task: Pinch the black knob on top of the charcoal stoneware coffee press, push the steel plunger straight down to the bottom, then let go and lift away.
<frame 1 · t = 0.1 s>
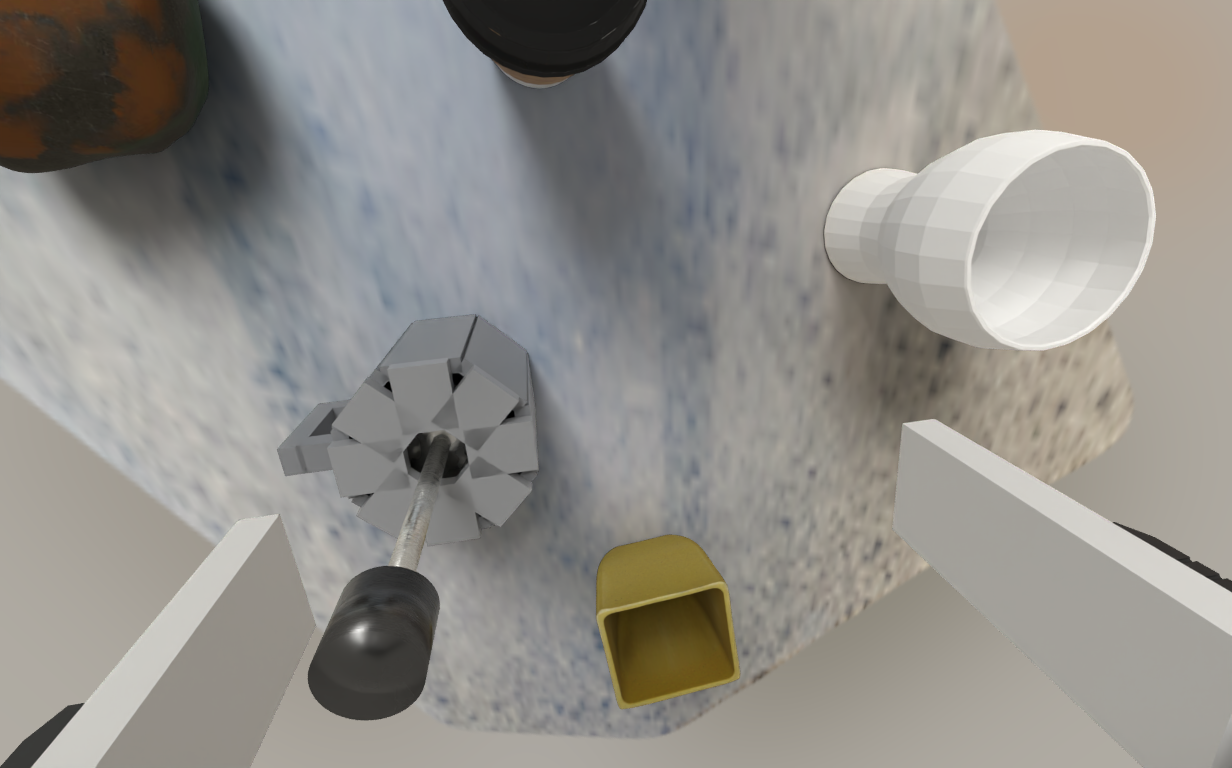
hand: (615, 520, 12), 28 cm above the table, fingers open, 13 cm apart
cup: (874, 226, 41), on the table
plunger: (417, 519, 24), point 16 cm above the table, slide at 0.0 cm
flower pot: (645, 564, 47), on the table
rock: (128, 56, 31), on the table
press carafe: (458, 388, 40), on the table
coffee cup: (536, 33, 34), on the table
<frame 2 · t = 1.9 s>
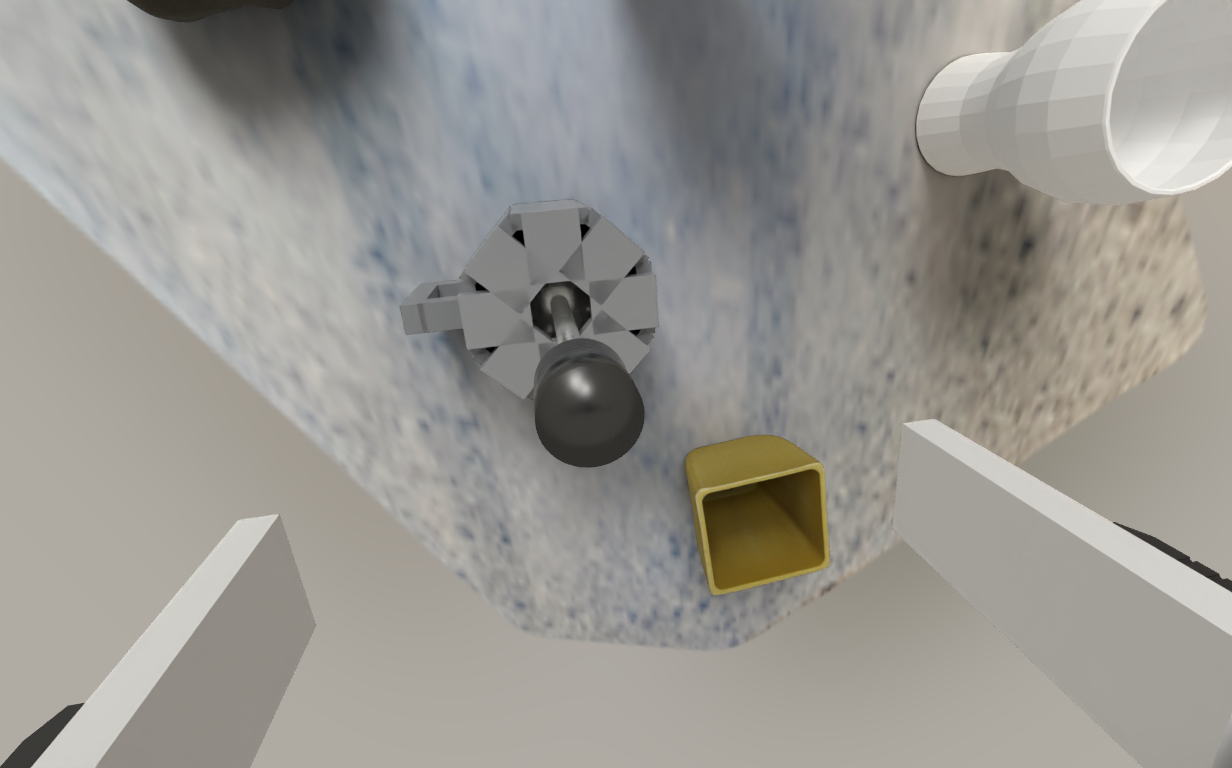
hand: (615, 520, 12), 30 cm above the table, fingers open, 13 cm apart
cup: (964, 117, 41), on the table
plunger: (569, 341, 25), point 17 cm above the table, slide at 0.0 cm
flower pot: (722, 468, 47), on the table
press carafe: (551, 277, 40), on the table
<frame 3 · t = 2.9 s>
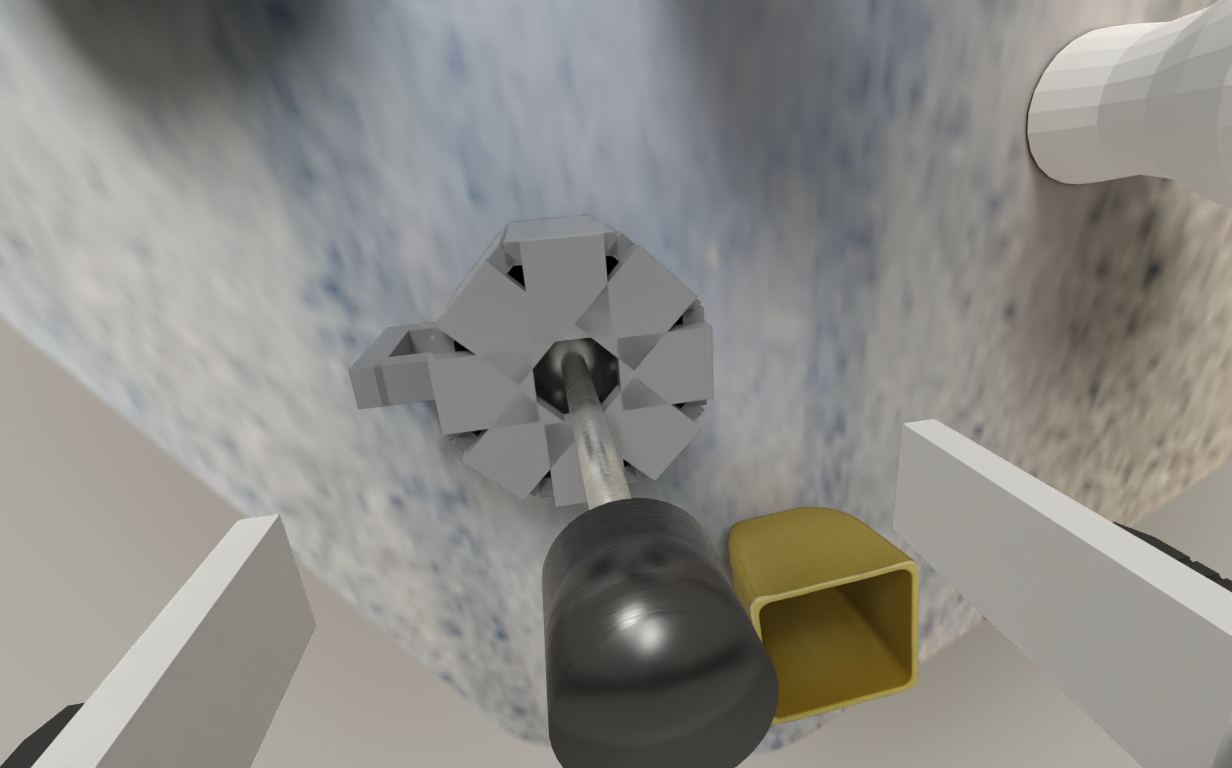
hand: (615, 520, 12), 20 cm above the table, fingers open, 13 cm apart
cup: (1087, 109, 32), on the table
plunger: (595, 449, 16), point 17 cm above the table, slide at 0.0 cm
flower pot: (769, 543, 38), on the table
press carafe: (560, 315, 31), on the table
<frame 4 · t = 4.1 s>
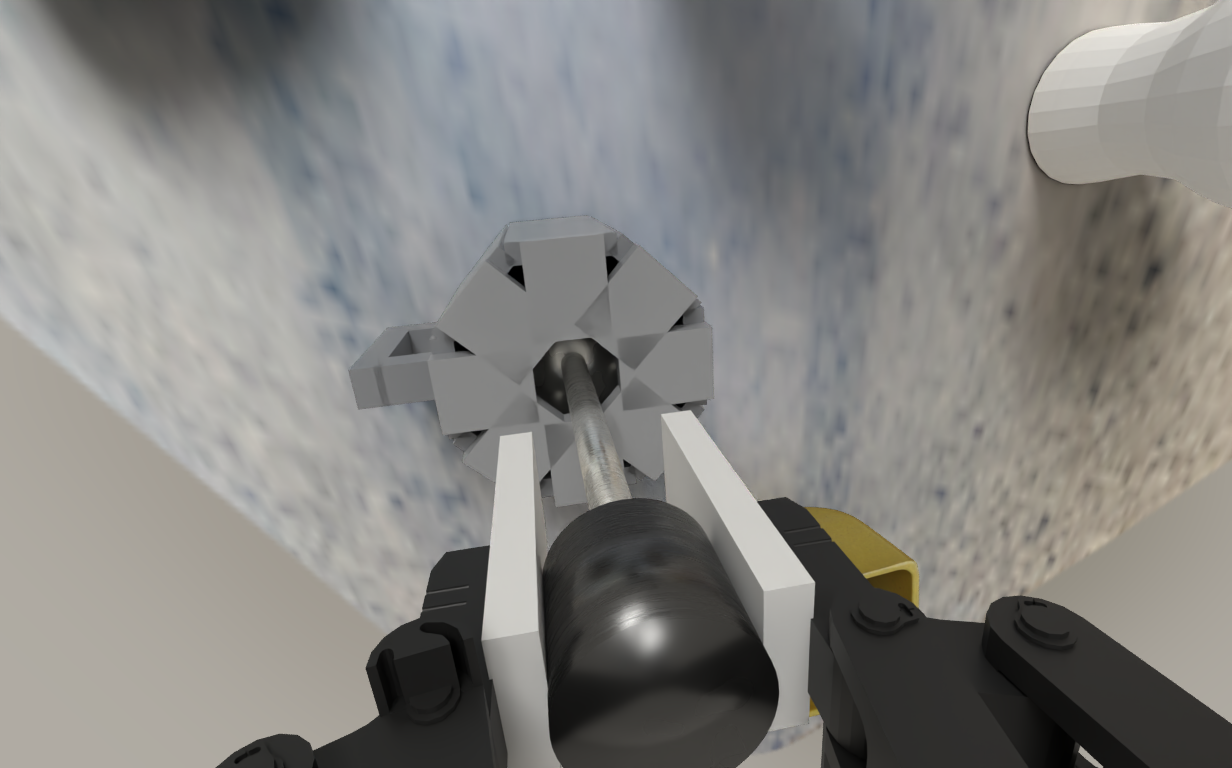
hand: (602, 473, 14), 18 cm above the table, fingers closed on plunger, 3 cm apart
cup: (1087, 109, 32), on the table
plunger: (596, 449, 16), point 16 cm above the table, slide at 0.0 cm, touching gripper
flower pot: (769, 544, 38), on the table
press carafe: (560, 315, 31), on the table
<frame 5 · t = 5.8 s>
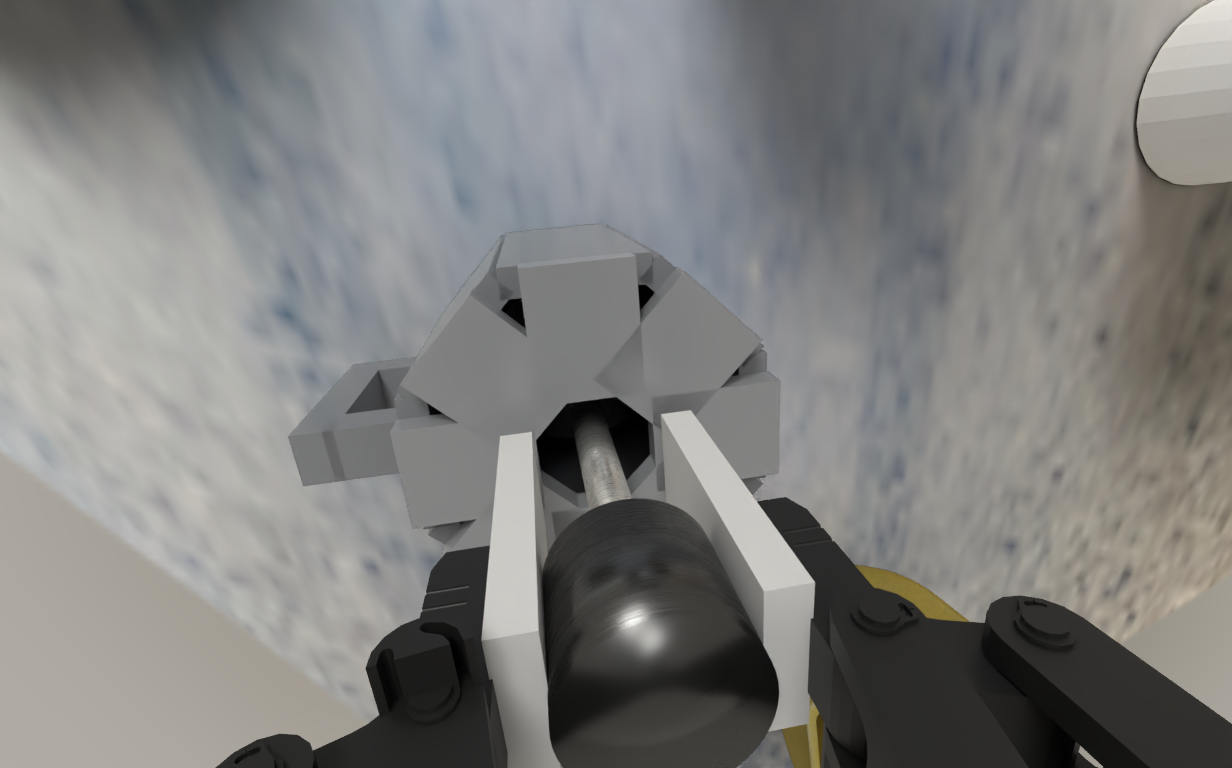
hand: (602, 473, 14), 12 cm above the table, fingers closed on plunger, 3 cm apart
cup: (1207, 94, 26), on the table
plunger: (596, 449, 16), point 11 cm above the table, slide at 6.0 cm, touching gripper
flower pot: (811, 606, 33), on the table
press carafe: (568, 345, 25), on the table
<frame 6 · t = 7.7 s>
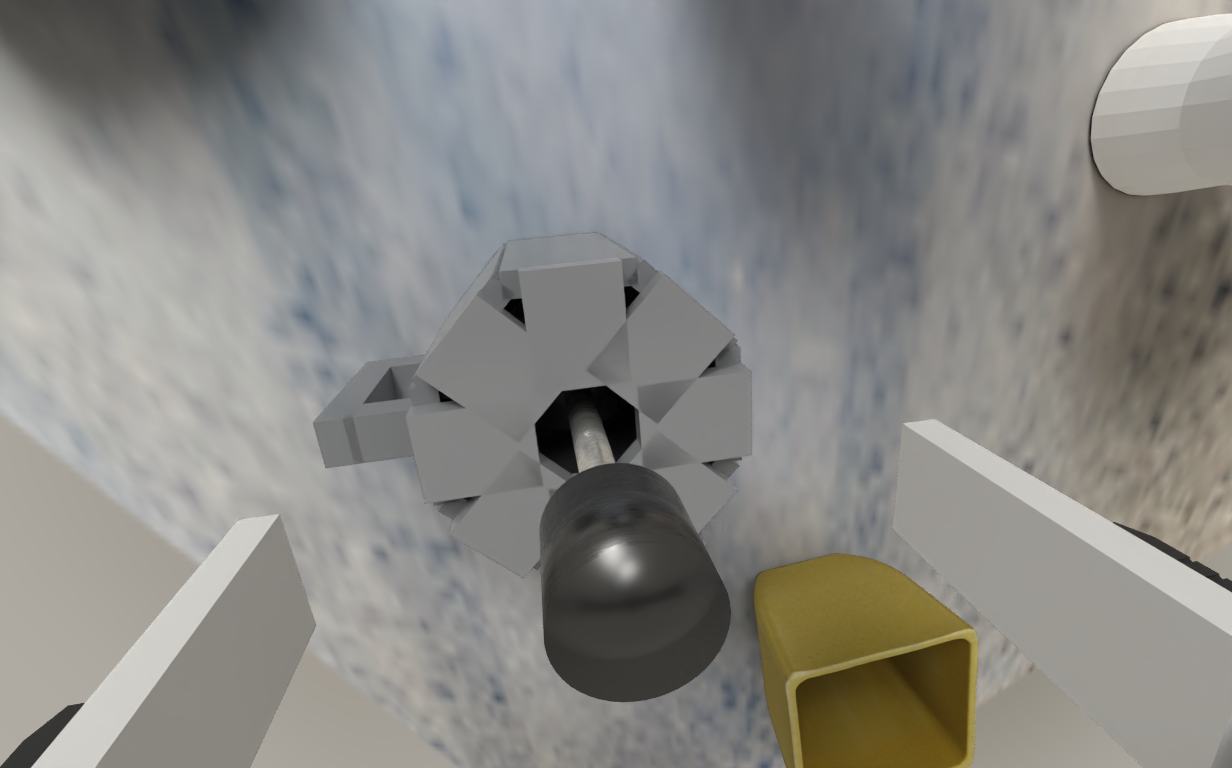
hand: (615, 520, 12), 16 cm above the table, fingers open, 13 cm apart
cup: (1156, 112, 28), on the table
plunger: (588, 432, 18), point 10 cm above the table, slide at 6.0 cm
flower pot: (796, 593, 35), on the table
press carafe: (564, 344, 27), on the table
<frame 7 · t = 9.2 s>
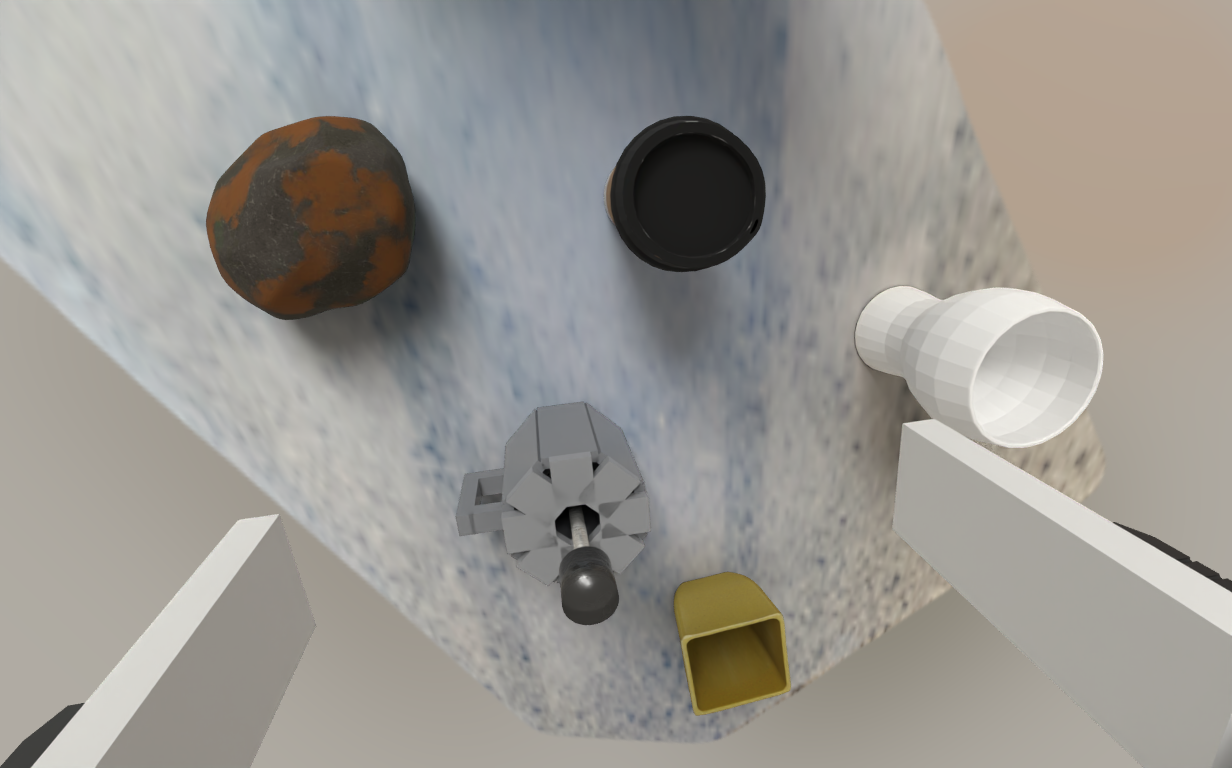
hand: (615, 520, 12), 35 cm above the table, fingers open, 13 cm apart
cup: (893, 329, 51), on the table
plunger: (577, 522, 40), point 10 cm above the table, slide at 6.0 cm
flower pot: (705, 596, 57), on the table
rock: (343, 222, 42), on the table
press carafe: (566, 458, 50), on the table
coffee cup: (641, 196, 45), on the table
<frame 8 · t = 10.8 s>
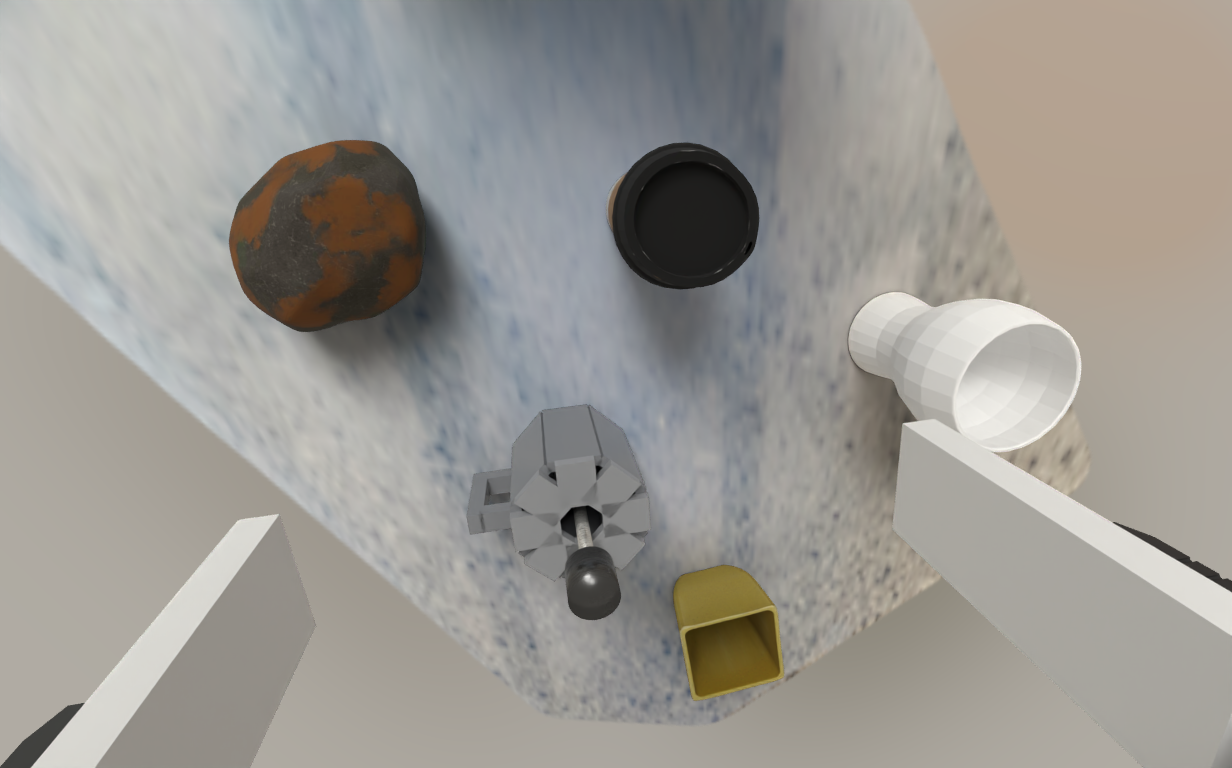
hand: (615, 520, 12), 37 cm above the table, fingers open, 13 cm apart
cup: (886, 333, 53), on the table
plunger: (581, 522, 43), point 10 cm above the table, slide at 6.0 cm
flower pot: (704, 587, 60), on the table
rock: (356, 235, 44), on the table
press carafe: (570, 458, 52), on the table
coffee cup: (641, 208, 46), on the table
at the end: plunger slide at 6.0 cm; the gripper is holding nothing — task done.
